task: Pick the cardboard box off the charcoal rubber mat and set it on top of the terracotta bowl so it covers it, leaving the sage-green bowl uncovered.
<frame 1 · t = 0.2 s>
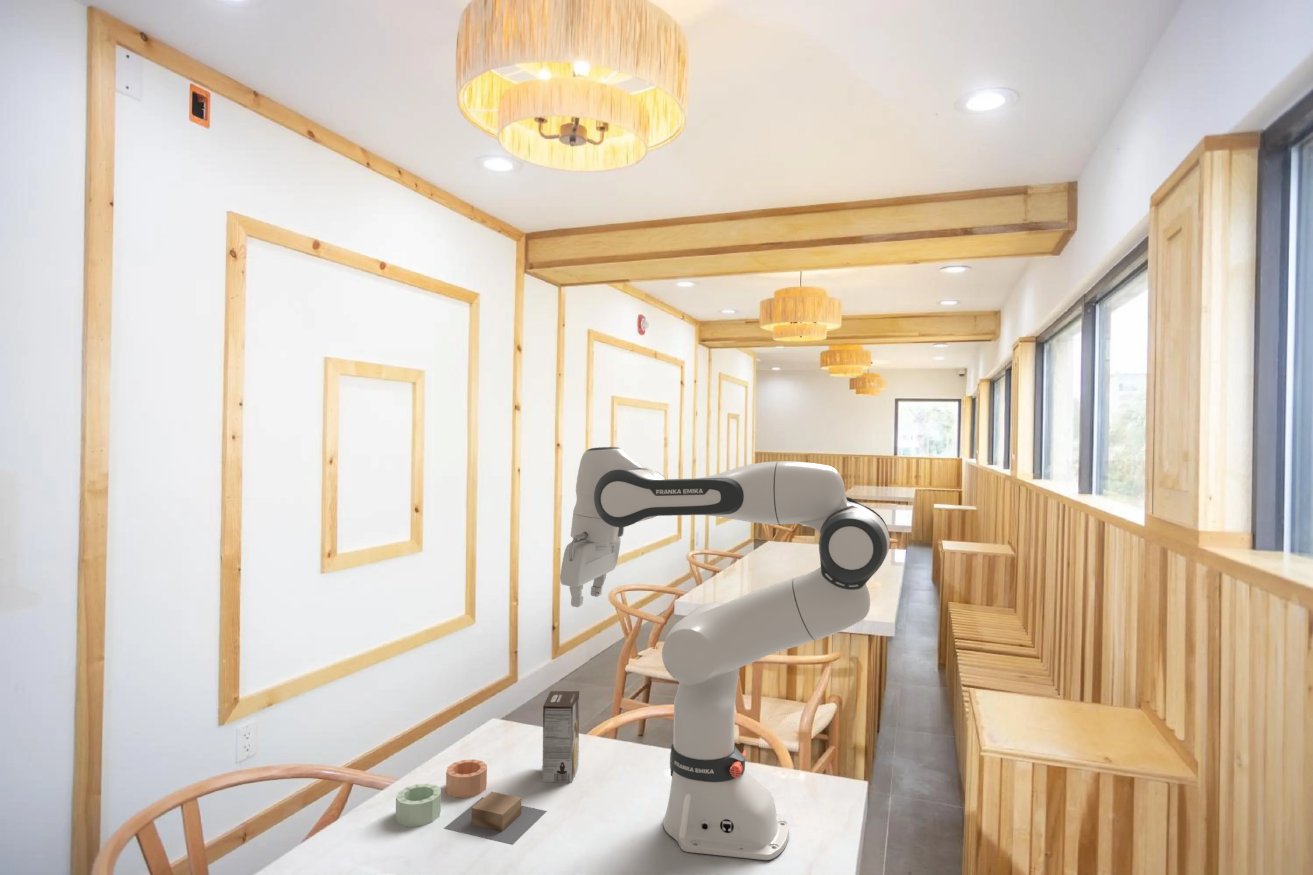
hand: (586, 600, 140), 39 cm above the table, tool pointing down, fingers open, 8 cm apart
coffee box: (560, 775, 151), on the table
cardboard box: (496, 819, 132), point 1 cm above the table, touching mat
bowl terracotta: (466, 790, 143), on the table
mat: (496, 822, 132), on the table
bowl sage: (418, 818, 133), on the table
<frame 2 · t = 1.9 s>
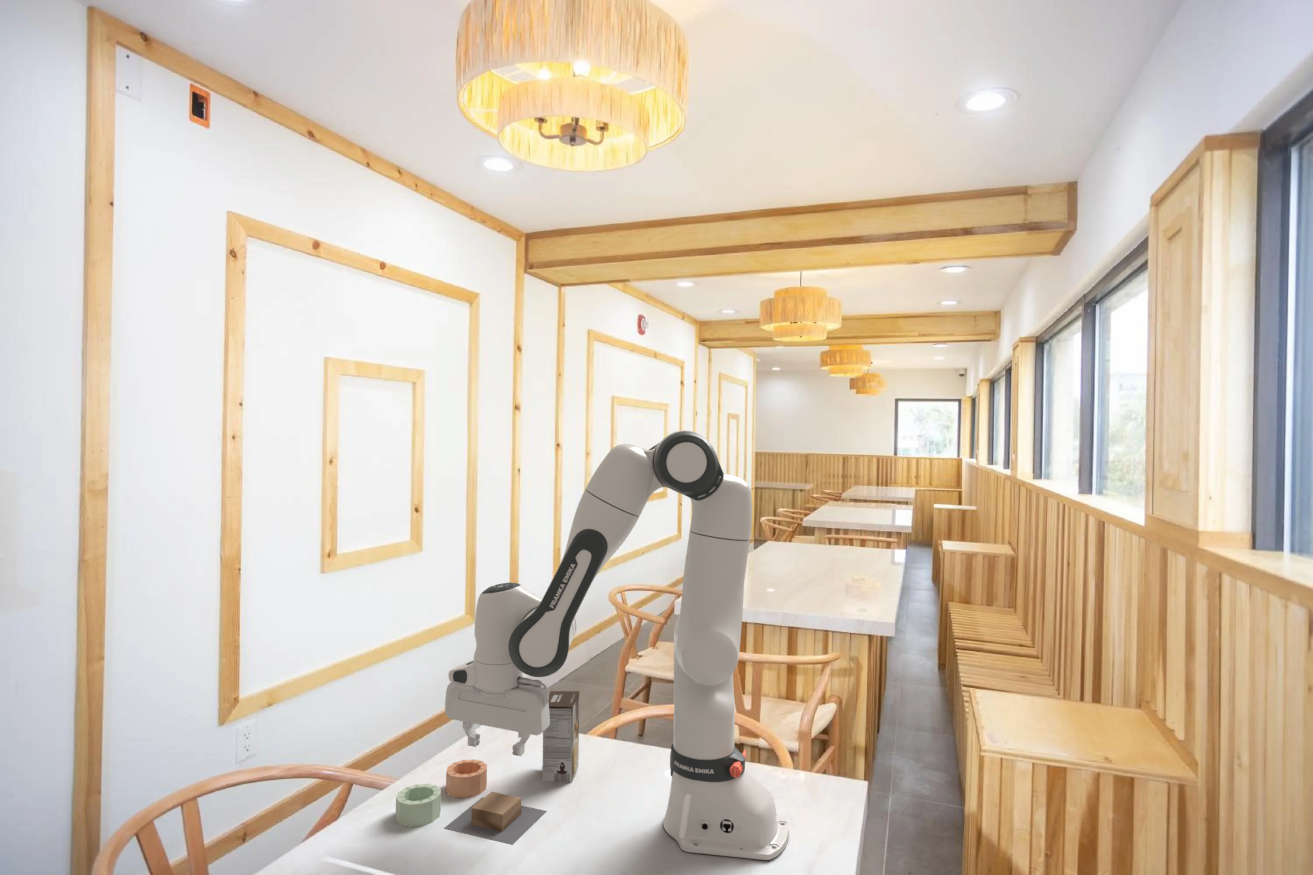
hand: (495, 749, 132), 13 cm above the table, tool pointing down, fingers open, 8 cm apart
nothing on the table moved.
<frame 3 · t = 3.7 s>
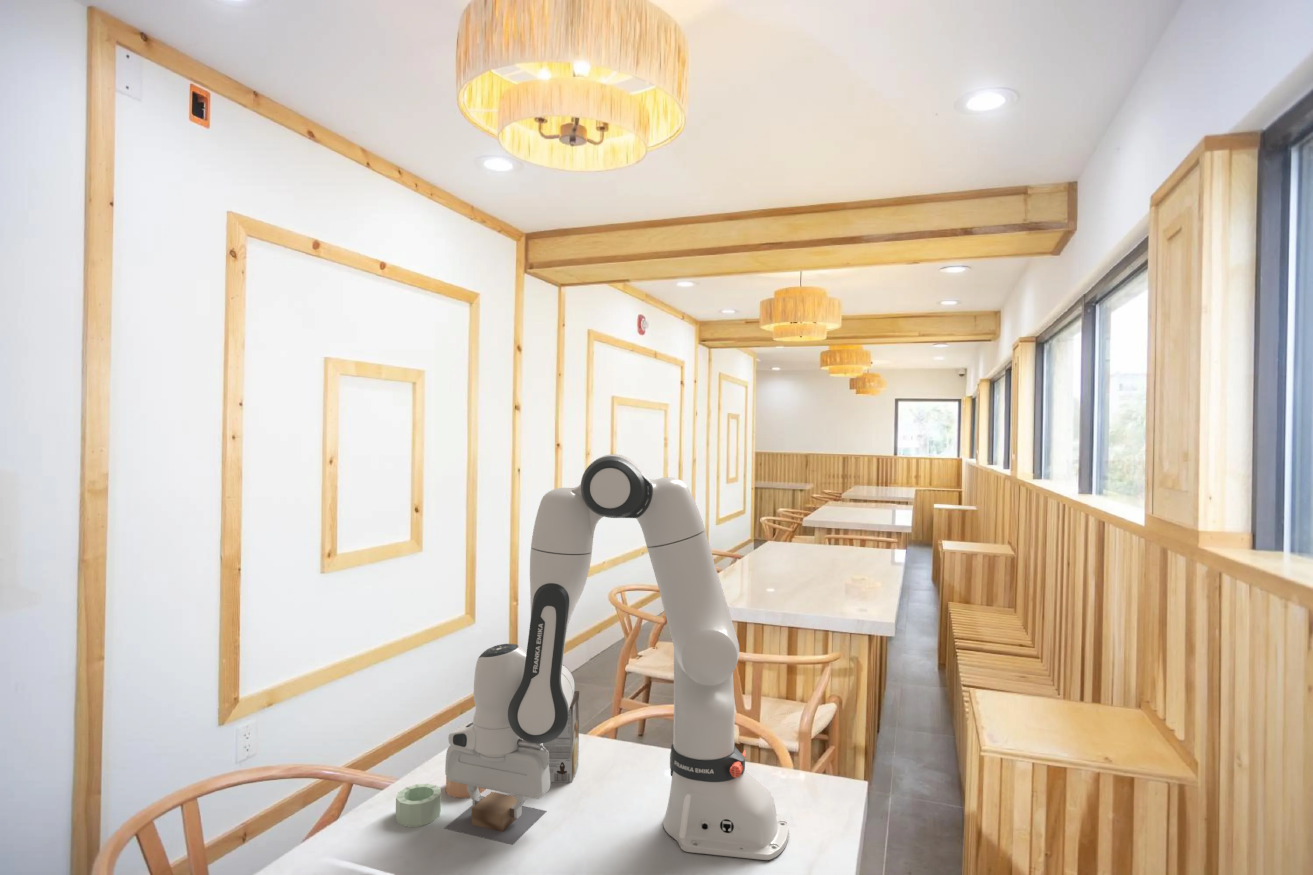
hand: (496, 812, 132), 2 cm above the table, tool pointing down, fingers closed on cardboard box, 6 cm apart
cardboard box: (496, 819, 132), point 1 cm above the table, touching gripper, mat
everything else where it was.
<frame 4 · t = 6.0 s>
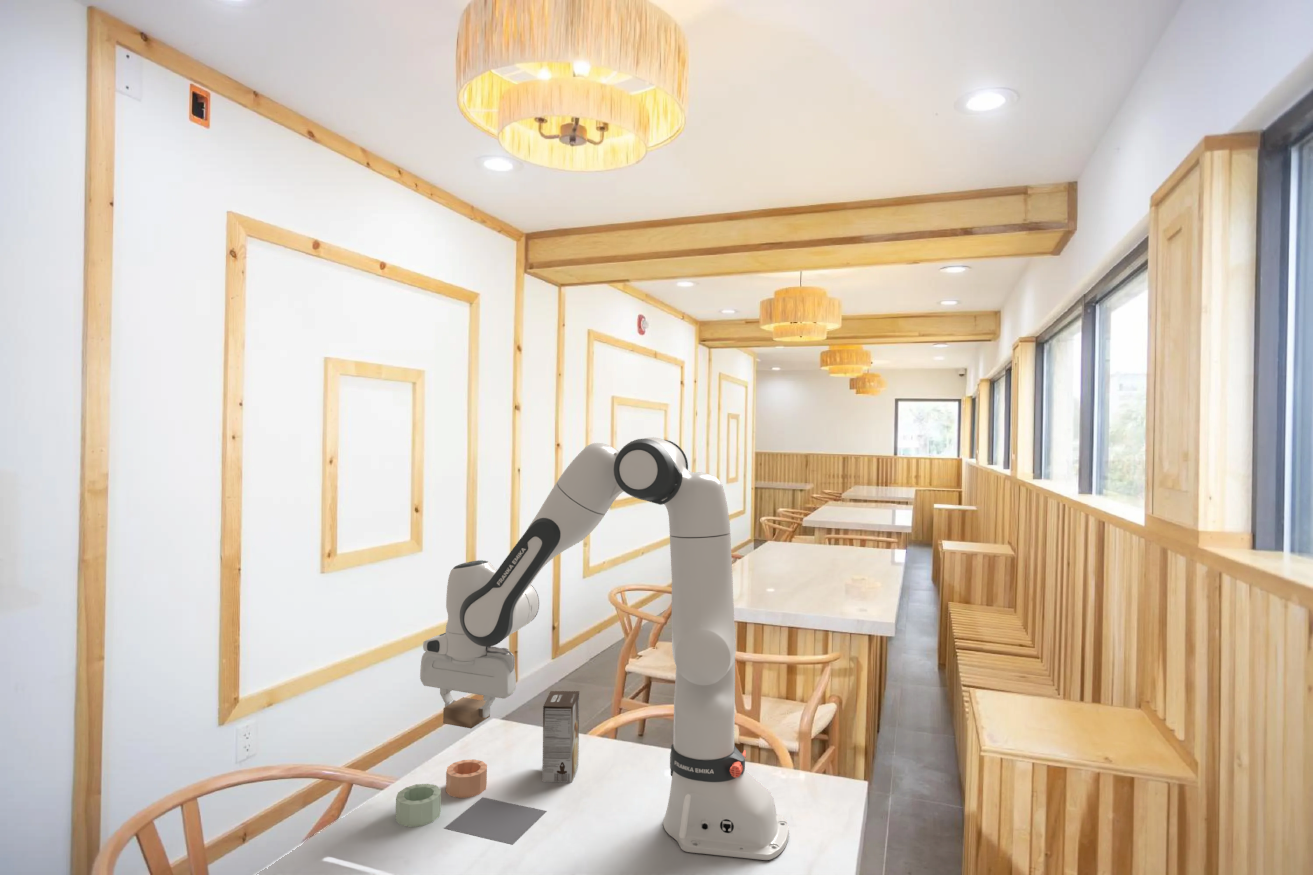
hand: (467, 713, 143), 15 cm above the table, tool pointing down, fingers closed on cardboard box, 6 cm apart
cardboard box: (466, 719, 143), point 14 cm above the table, touching gripper
everything else where it was.
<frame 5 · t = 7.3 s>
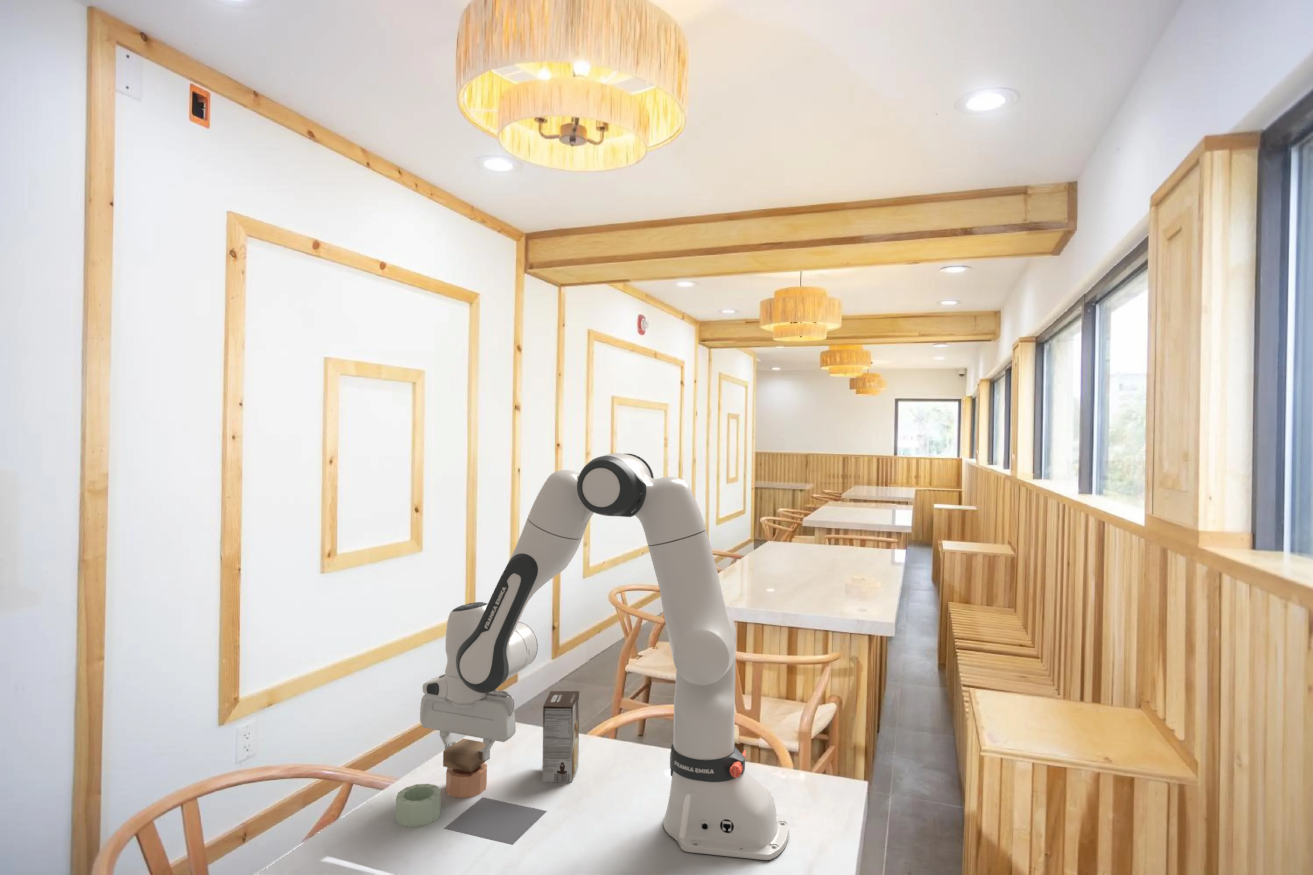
hand: (467, 755, 143), 7 cm above the table, tool pointing down, fingers closed on cardboard box, 6 cm apart
cardboard box: (466, 762, 143), point 6 cm above the table, touching gripper
everything else where it was.
when the fingers open (7 cm above the table, at t = 8.2 s): cardboard box stays where it is, resting on bowl terracotta.
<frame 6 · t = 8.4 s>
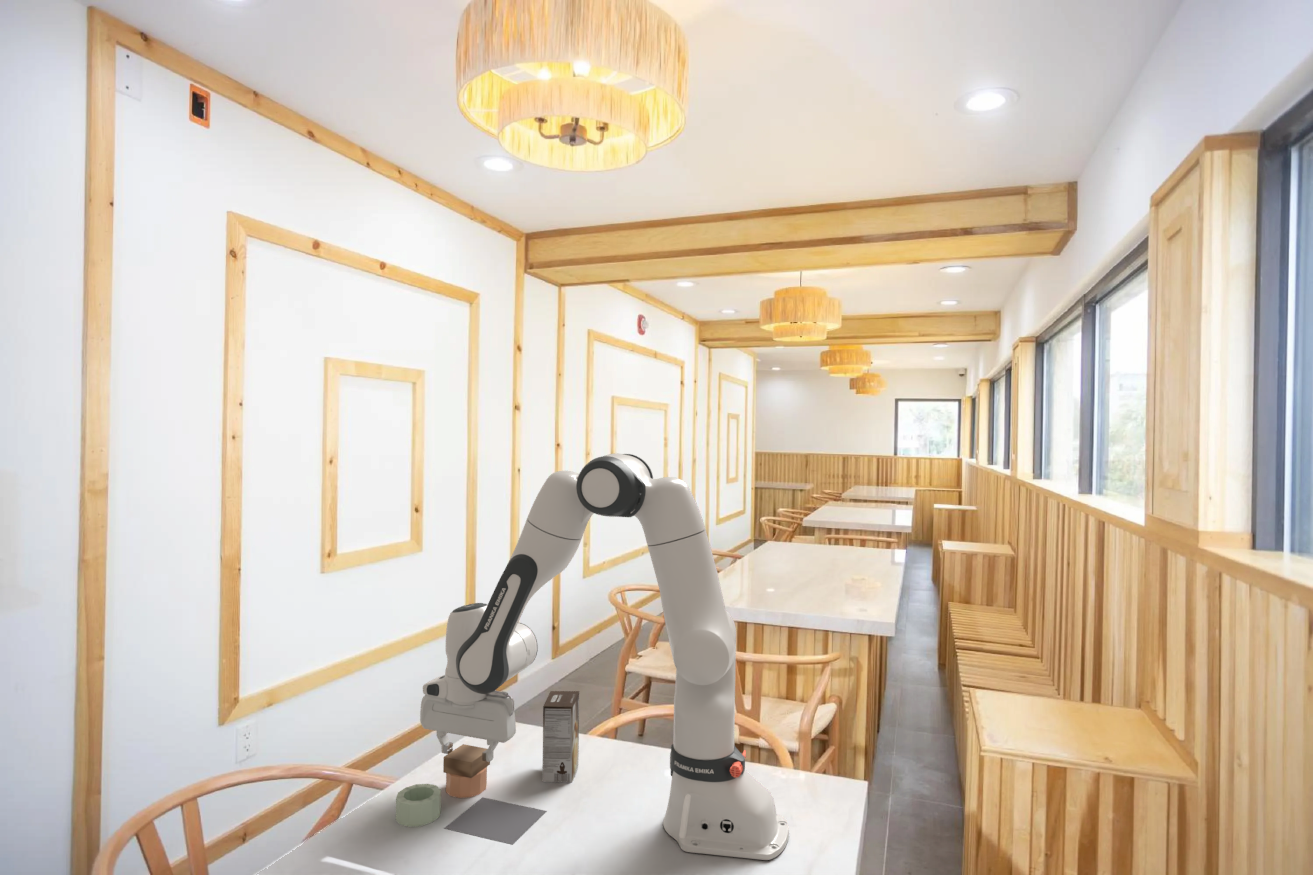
hand: (467, 756, 143), 7 cm above the table, tool pointing down, fingers open, 8 cm apart
cardboard box: (467, 768, 143), point 4 cm above the table, touching bowl terracotta
everything else where it was.
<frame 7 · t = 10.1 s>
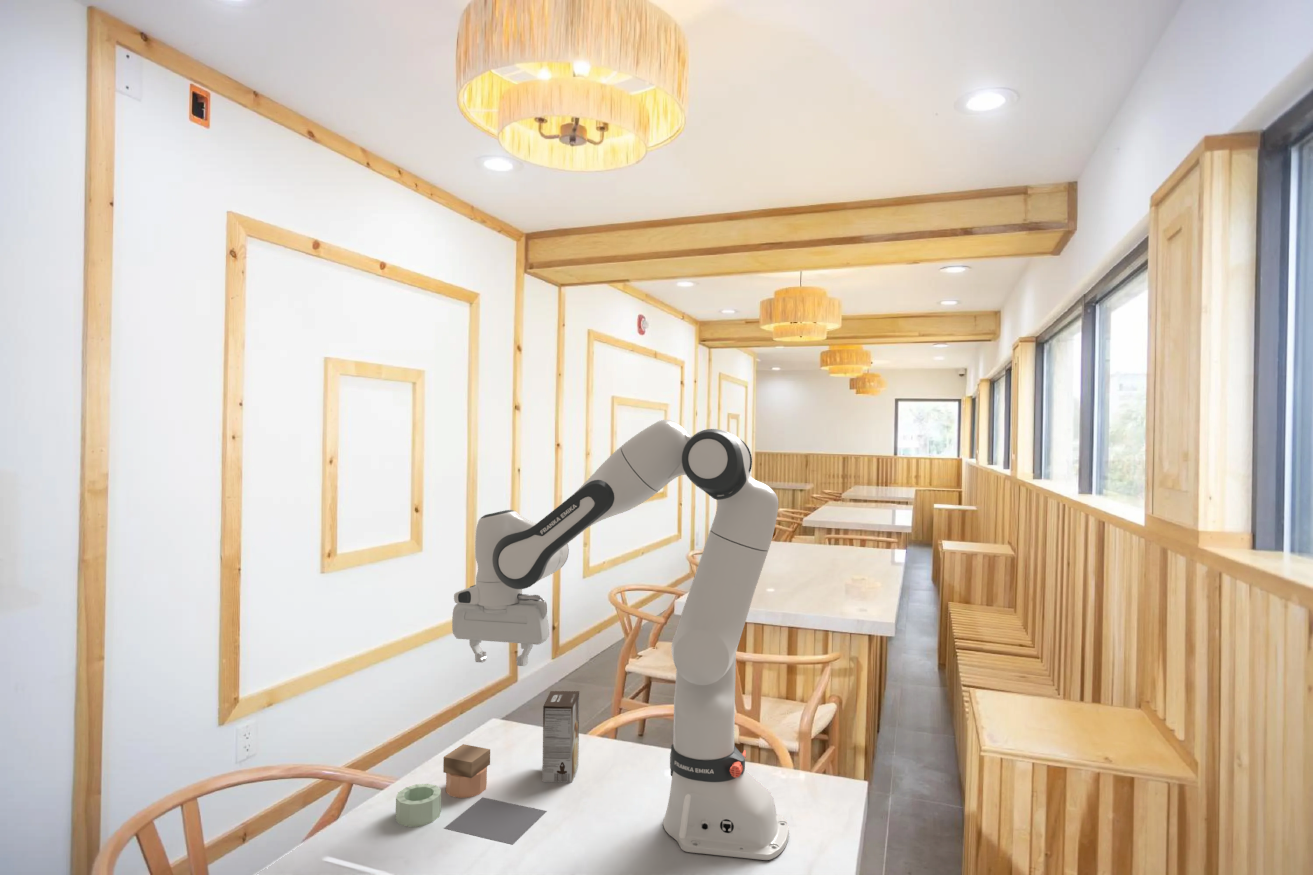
hand: (501, 663, 143), 25 cm above the table, tool pointing down, fingers open, 8 cm apart
nothing on the table moved.
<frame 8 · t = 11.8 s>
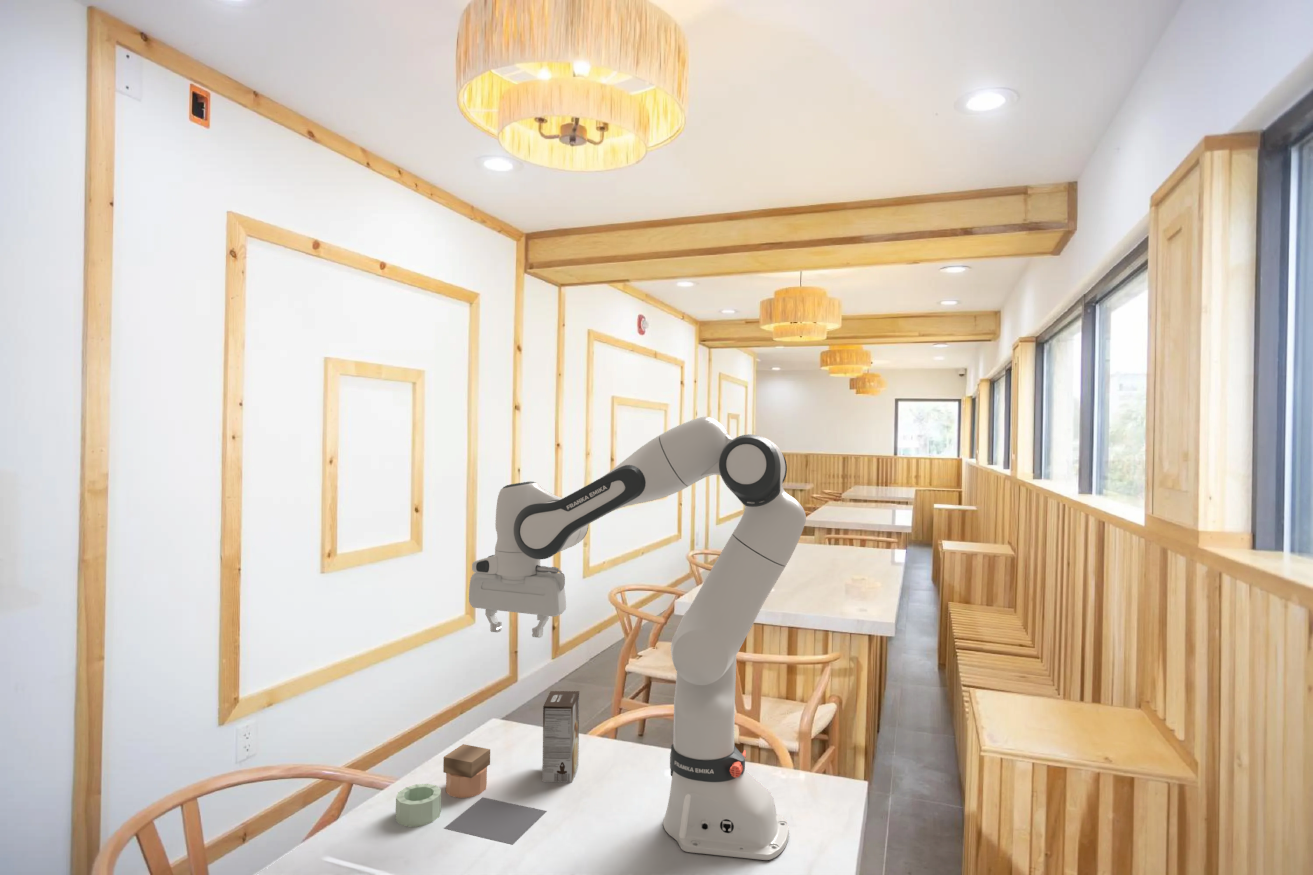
hand: (516, 634, 143), 31 cm above the table, tool pointing down, fingers open, 8 cm apart
nothing on the table moved.
at the end: cardboard box 0.1 cm off-centre on the bowl terracotta, point 4.5 cm above the bowl terracotta's base; cardboard box tilted 0°; the gripper is holding nothing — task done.
